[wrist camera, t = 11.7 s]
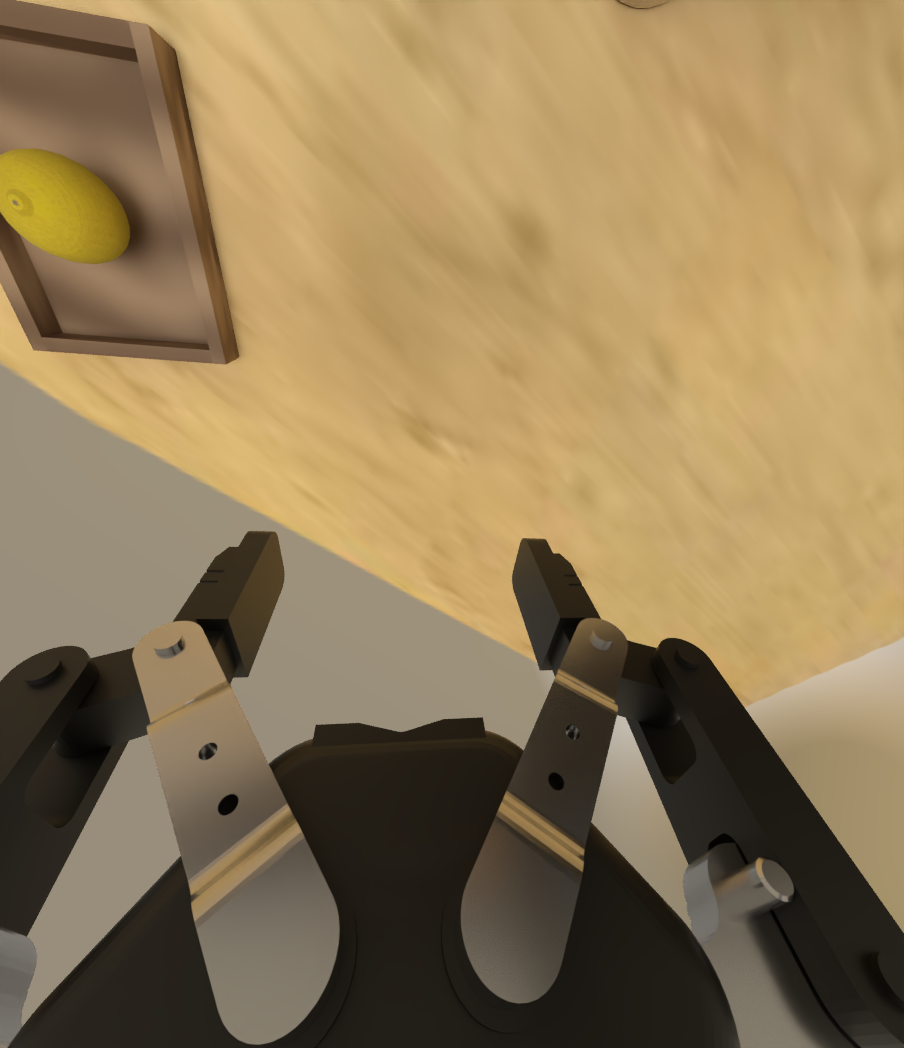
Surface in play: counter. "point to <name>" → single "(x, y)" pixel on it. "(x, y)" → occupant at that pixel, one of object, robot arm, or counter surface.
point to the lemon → (61, 206)
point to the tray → (133, 176)
